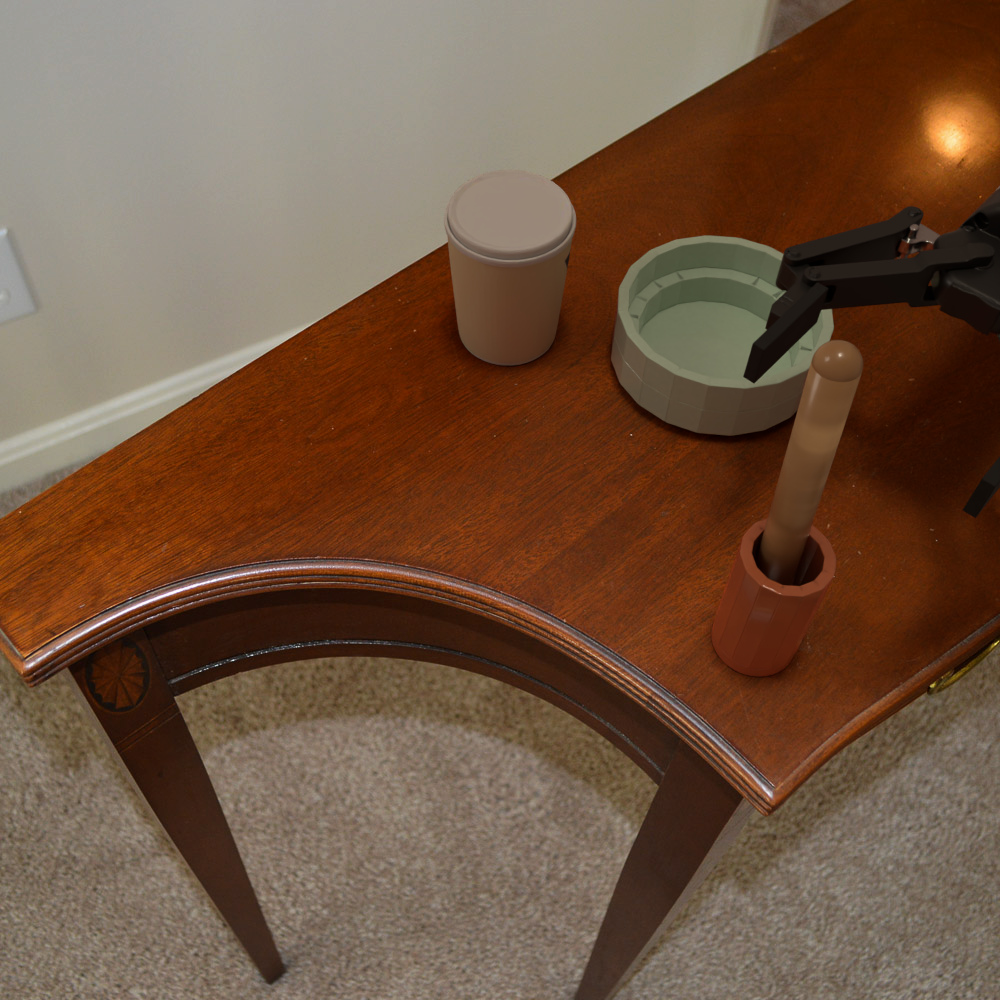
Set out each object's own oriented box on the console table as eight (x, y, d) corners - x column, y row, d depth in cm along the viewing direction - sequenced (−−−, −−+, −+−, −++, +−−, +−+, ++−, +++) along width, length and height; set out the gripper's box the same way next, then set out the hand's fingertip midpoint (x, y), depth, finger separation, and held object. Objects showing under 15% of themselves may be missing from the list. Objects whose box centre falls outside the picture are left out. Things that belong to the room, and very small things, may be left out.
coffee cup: (590, 342, 86) (603, 221, 76) (491, 392, 82) (492, 272, 73) (521, 273, 90) (526, 151, 80) (425, 318, 87) (418, 196, 77)
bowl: (851, 358, 85) (873, 302, 80) (737, 477, 78) (754, 423, 73) (688, 265, 91) (700, 208, 86) (569, 368, 84) (574, 311, 79)
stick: (782, 630, 70) (878, 344, 51) (762, 654, 68) (852, 370, 50) (750, 610, 71) (833, 322, 52) (729, 633, 69) (807, 347, 51)
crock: (811, 635, 71) (854, 551, 62) (764, 693, 68) (802, 614, 60) (742, 587, 73) (775, 500, 64) (693, 642, 70) (721, 558, 62)
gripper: (1210, 375, 65) (1052, 602, 56) (848, 191, 75) (661, 359, 65) (1285, 281, 59) (1122, 518, 50) (880, 94, 69) (680, 264, 59)
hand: (860, 428), depth 57 cm, fingers open, 13 cm apart
